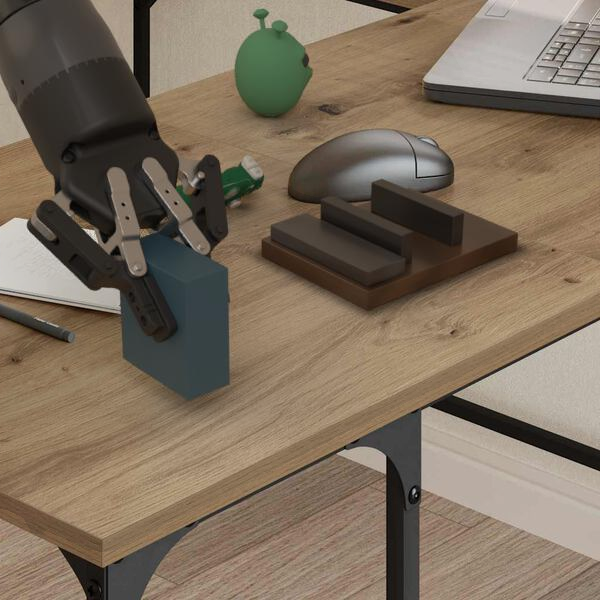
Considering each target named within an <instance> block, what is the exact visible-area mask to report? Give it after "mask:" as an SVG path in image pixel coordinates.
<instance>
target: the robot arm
mask: <svg viewBox="0 0 600 600" xmlns="http://www.w3.org/2000/svg"><path fill="white" fill-rule="evenodd" d="M0 78H1V81H2V84H3V85H4V87H5V89H6V91H7V94H8V97H9V100H10V101H11V103H12V104H13V105H14V108H15V109H16V111H17V113H18V116H19V117H20V119H21V122H22V124H23V125H24V127H25V129H26V131H27V134H28V135H29V137H30V140H31V142H32V143H33V146H34V148H35V150H36V151H37V154H38V156H39V158H40V161H42V164H43V166H44V168H45V169H46V171H47V172H48V173H49V174H50V175H52V177H53V181H54V186H53V191H54V192H53V193H54V195H53V197H51V199H44V200H42V201H41V202H40V203H39V205H38V206H37V207H36V209H35V210H34V212H33V213H32V215H30V217H29V218H28V219H27V221H26V229H27V231H28V232H29V233H30V234H31V235H32V236H33V237H34V238H35V239H36V240H37V241H39V243H41V245H42V246H44V247H45V249H46V250H48V252H50V254H52V256H54V257H55V258H56V259H57V260H58V261H59V262H60V263H61V264H62V265H63V266H64V267H66V269H67V270H69V271H70V273H71V274H73V275H74V277H76V278H77V279H78V280H79V282H81V283H82V284H83V285H84V286H85V287H86V288H87V289H88V290H90V291H92V292H98V291H100V290H101V289H114V290H117V291H119V292H120V291H121V292H122V293H123V294H124V296H125V298H126V300H127V302H128V304H129V306H130V308H131V310H132V312H133V314H134V315H135V318H136V320H137V321H138V324H139V326H140V328H141V330H142V331H143V332H144V333H145V334H146V335H147V336H148V337H149V336H152V337H153V339H154V340H155V342H157V343H160V342H163V341H166V340H168V339H169V338H171V337H172V336H173V335H174V334H175V333H176V332H177V330H178V324H177V321H176V319H175V317H174V316H173V314H172V312H171V310H170V308H169V306H168V304H167V302H166V300H165V298H164V296H163V294H162V292H161V290H160V288H159V286H158V284H157V282H156V280H155V278H154V276H153V274H152V275H149V276H147V275H146V272H147V265H146V261H145V258H144V255H143V251H142V248H141V245H140V238H141V237H142V236H141V235H142V233H141V232H142V231H141V230H146V231H147V233H148V235H150V234H153V233H159V234H161V235H164V236H166V237H170V238H172V239H174V240H176V241H178V242H180V243H182V244H184V245H186V246H187V247H189V248H191V249H193V250H195V251H197V252H199V253H201V254H203V255H205V256H206V257H208V258H210V259H212V252H213V251H214V250H215V248H216V247H217V246H218V245H219V244H220V243H221V242H222V241H223V240H225V239H226V238H227V236H228V235H229V225H228V224H229V223H228V217H227V209H226V205H225V200H224V192H223V184H222V176H221V173H222V169H221V168H222V167H221V162H220V160H219V158H218V157H217V156H215V155H214V154H211V153H208V154H205V155H204V156H203V158H201V159H200V160H199V159H198V160H197V159H190V158H184V157H183V158H182V157H179V156H178V155H177V152H176V151H175V150H174V149H173V148H172V147H170V146H169V144H167V143H166V142H165V141H164V139H162V137H161V135H160V131H159V127H158V124H157V119H156V115H155V114H154V112H153V109H152V108H151V106H150V103H149V101H148V100H147V97H146V96H145V94H144V92H143V90H142V88H141V86H140V85H139V82H138V81H137V79H136V76H135V75H134V72H133V71H132V69H131V67H130V65H129V63H128V61H127V59H126V57H125V55H124V53H123V51H122V49H121V47H120V45H119V44H118V42H117V40H116V38H115V36H114V34H113V32H112V30H111V28H110V27H109V26H108V24H107V22H106V21H105V19H104V18H103V16H101V14H100V12H99V11H98V10H97V8H96V6H95V5H94V3H93V2H92V0H0ZM178 181H179V182H180V183H181V185H182V186H183V192H184V194H186V195H189V196H190V204H191V210H190V208H189V207H188V206H187V204H186V203H185V202H184V200H183V199H182V198H181V196H180V195H179V193H178V192H177V191H176V186H178V185H177V184H178ZM76 216H77V217H78V218H80V219H81V220H83V221H85V222H86V223H87V224H89V225H90V226H91V227H93V230H94V233H95V237H96V240H95V239H94V238H93V237H92V236H91V235H90V234H89V233H87V231H86V230H85V229H83V228H82V227H81V225H79V224H78V222H76V221H77V220H76ZM166 217H167V220H165V218H166ZM230 298H231V297H230V296H229V303H230V302H231V299H230Z"/></svg>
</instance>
